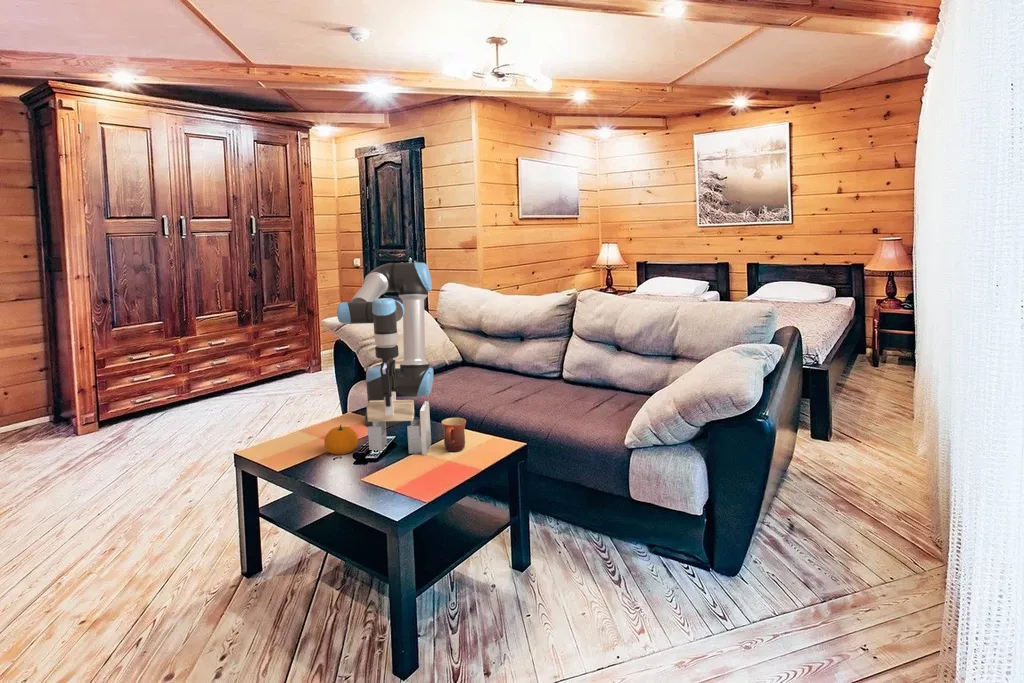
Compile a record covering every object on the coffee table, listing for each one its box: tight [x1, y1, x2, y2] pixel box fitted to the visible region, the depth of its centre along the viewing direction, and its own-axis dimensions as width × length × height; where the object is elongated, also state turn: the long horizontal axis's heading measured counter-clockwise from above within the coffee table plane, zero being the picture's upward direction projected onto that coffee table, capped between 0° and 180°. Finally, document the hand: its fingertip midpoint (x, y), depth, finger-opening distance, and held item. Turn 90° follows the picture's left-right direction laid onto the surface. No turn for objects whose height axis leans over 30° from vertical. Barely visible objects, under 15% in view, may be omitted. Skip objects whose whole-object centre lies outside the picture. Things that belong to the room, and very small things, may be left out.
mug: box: [441, 417, 467, 453], centre depth 216 cm, size 12×9×10 cm
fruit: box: [324, 424, 359, 456], centre depth 218 cm, size 12×12×10 cm
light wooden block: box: [366, 399, 415, 422], centre depth 208 cm, size 4×15×6 cm, turn 90°
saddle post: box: [367, 421, 388, 452], centre depth 218 cm, size 8×4×10 cm, turn 0°
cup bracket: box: [406, 400, 432, 456], centre depth 217 cm, size 12×6×16 cm, turn 0°
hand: (391, 412), depth 208 cm, fingers closed on light wooden block, 4 cm apart
